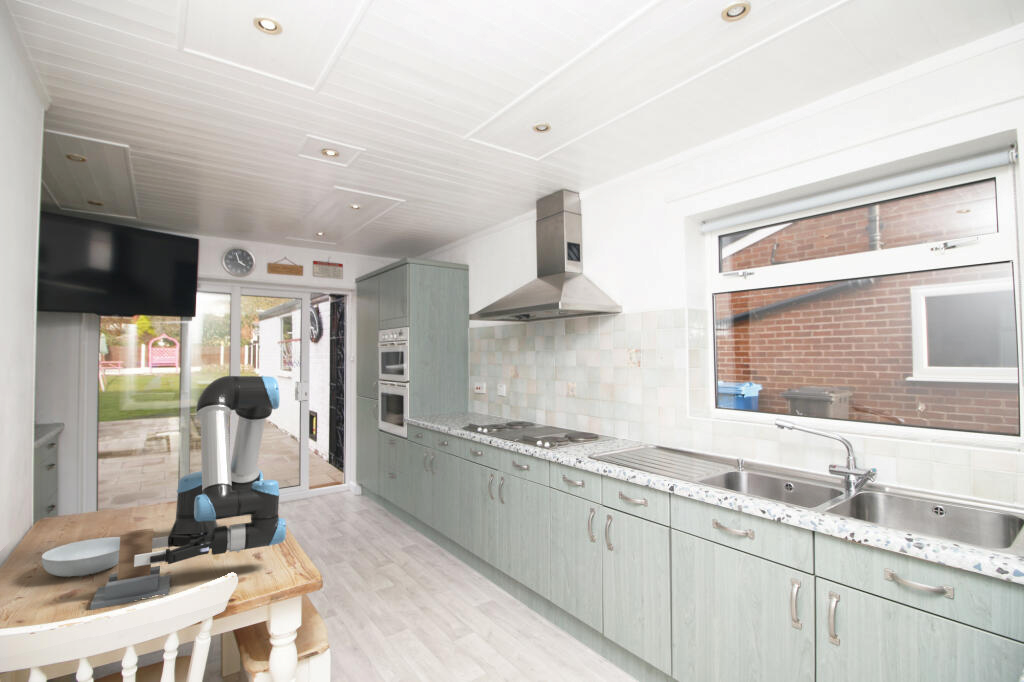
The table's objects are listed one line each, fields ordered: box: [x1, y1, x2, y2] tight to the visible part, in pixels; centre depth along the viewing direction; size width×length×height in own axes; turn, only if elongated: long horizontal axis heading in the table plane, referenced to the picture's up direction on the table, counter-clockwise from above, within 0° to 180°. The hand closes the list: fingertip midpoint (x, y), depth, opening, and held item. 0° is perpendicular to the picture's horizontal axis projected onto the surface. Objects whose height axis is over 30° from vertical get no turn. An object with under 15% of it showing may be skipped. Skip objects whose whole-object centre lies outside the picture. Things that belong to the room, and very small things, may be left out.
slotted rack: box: [89, 565, 171, 610], centre depth 131 cm, size 16×12×5 cm
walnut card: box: [117, 527, 154, 581], centre depth 131 cm, size 7×2×15 cm, turn 124°
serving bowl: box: [41, 536, 120, 577], centre depth 145 cm, size 21×21×7 cm
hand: (136, 552), depth 131 cm, fingers open, 13 cm apart
